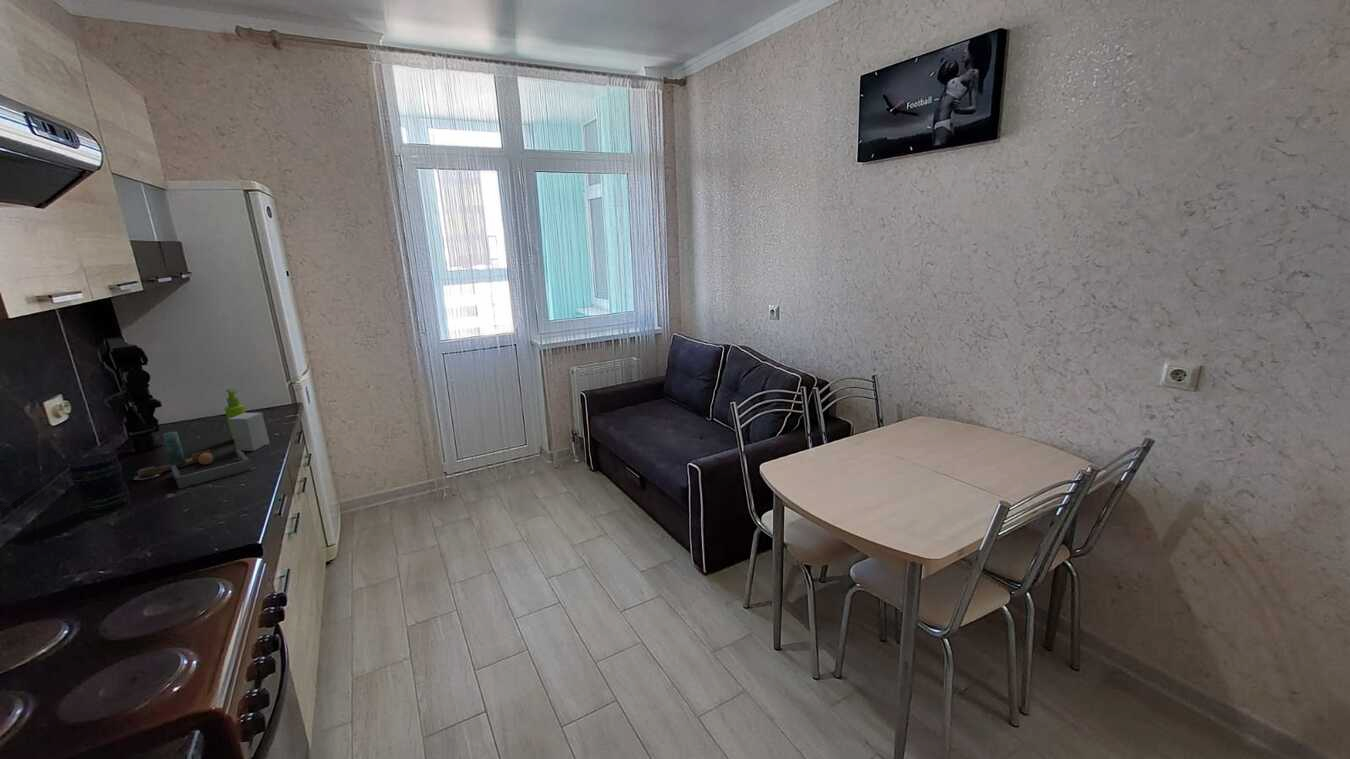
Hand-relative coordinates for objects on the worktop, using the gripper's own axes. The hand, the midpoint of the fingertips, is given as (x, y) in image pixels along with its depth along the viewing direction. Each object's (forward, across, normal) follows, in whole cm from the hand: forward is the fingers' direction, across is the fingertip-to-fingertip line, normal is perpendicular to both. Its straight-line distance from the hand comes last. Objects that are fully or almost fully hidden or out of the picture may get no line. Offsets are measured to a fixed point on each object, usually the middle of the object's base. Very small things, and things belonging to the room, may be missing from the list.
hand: (147, 425), depth 188 cm
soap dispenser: (+13, +3, +25) cm, 28 cm away
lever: (+13, +16, +1) cm, 21 cm away
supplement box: (+13, +18, +23) cm, 32 cm away
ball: (+11, +21, +7) cm, 25 cm away
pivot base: (+13, +16, -6) cm, 22 cm away
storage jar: (+13, +35, -20) cm, 43 cm away
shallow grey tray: (+13, +32, +6) cm, 35 cm away
